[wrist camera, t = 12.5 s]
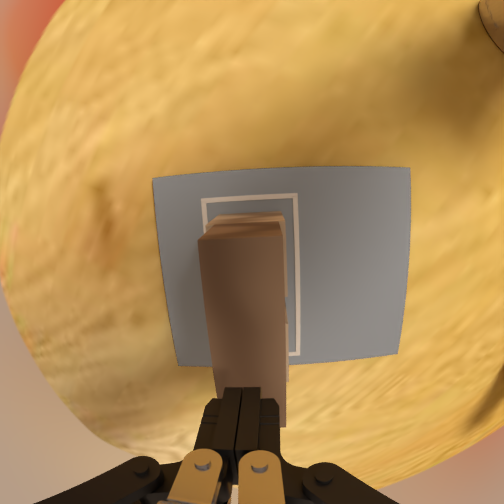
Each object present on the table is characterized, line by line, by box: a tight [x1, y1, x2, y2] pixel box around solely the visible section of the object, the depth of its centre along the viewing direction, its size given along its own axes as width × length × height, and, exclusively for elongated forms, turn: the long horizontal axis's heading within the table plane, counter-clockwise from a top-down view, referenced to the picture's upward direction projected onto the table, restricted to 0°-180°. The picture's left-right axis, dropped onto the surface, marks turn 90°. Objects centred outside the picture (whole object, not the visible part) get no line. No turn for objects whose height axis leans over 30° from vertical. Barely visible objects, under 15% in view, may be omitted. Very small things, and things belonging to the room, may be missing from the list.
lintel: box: [197, 221, 286, 427], centre depth 18 cm, size 4×12×5 cm, turn 3°
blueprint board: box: [153, 166, 411, 367], centre depth 27 cm, size 22×18×1 cm
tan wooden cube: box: [205, 211, 288, 297], centre depth 23 cm, size 5×5×6 cm
